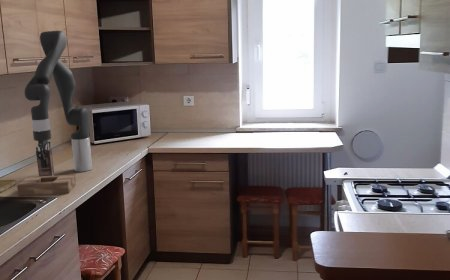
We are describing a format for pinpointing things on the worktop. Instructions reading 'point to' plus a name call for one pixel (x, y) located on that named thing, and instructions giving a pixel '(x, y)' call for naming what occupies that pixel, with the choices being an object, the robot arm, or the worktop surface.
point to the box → (49, 162)
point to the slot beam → (46, 185)
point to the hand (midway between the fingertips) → (45, 166)
